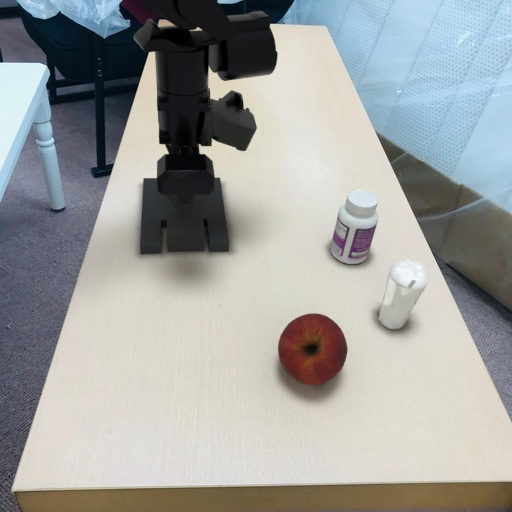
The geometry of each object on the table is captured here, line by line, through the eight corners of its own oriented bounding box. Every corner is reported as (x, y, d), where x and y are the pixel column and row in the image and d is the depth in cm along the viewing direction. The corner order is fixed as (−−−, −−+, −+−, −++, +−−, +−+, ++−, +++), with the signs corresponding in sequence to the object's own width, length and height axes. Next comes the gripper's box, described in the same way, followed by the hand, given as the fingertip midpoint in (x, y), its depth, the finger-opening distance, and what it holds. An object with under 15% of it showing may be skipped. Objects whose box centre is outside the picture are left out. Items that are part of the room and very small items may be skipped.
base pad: (140, 254, 69) (139, 245, 68) (144, 185, 80) (143, 177, 79) (228, 251, 71) (229, 243, 70) (219, 185, 82) (220, 177, 81)
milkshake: (371, 334, 62) (392, 275, 55) (374, 302, 66) (394, 244, 59) (409, 343, 61) (435, 285, 54) (409, 310, 65) (434, 253, 58)
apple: (260, 375, 56) (267, 328, 51) (296, 331, 61) (306, 285, 56) (319, 411, 53) (332, 366, 48) (351, 362, 58) (367, 317, 53)
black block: (167, 252, 70) (166, 235, 68) (167, 228, 73) (166, 212, 71) (204, 251, 70) (204, 234, 68) (202, 227, 74) (202, 211, 72)
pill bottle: (369, 245, 74) (386, 191, 68) (364, 269, 70) (381, 214, 64) (333, 236, 75) (346, 182, 68) (326, 259, 71) (339, 204, 65)
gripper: (266, 126, 51) (254, 243, 61) (244, 53, 64) (238, 159, 75) (153, 125, 49) (160, 246, 60) (155, 51, 63) (161, 160, 73)
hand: (184, 198), depth 67 cm, fingers open, 9 cm apart
